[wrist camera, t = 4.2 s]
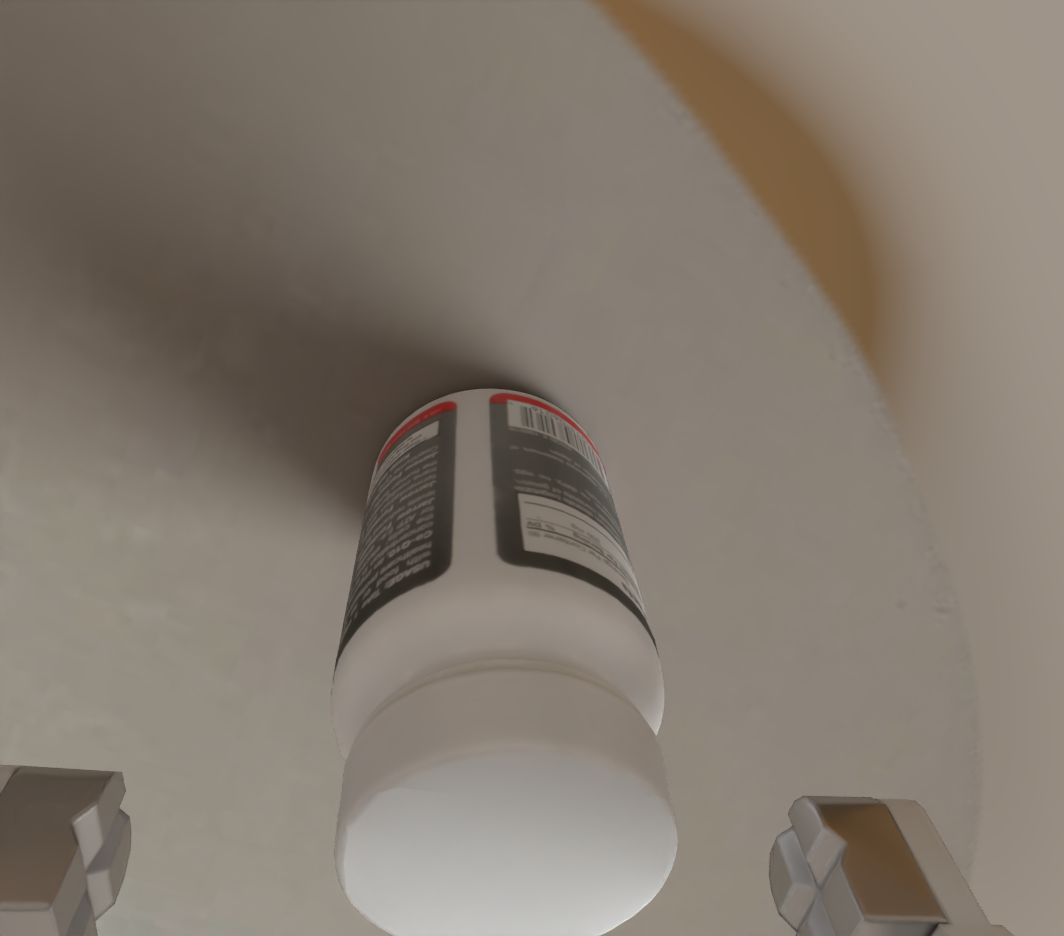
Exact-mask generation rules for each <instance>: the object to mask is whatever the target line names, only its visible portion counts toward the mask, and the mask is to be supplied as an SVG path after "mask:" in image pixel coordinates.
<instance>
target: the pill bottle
mask: <svg viewBox="0 0 1064 936" xmlns="http://www.w3.org/2000/svg"><path fill="white" fill-rule="evenodd" d="M331 696H332V699H331V715H332V723H333V730H334V733H335V737H336V740H337V743H338V746H339V749H340V751H341V754H342V756H343V758H344V760H345V762H346V764H345V769H344V774H343V784H342V792H341V800H340V807H339V814H338V822H337V830H336V838H335V848H334V860H335V868H336V872H337V876H338V880H339V883H340V885H341V887H342V889H343V891H344V893H345V894H346V896H347V897H348V899H349V900H350V902H351V903H352V905H353V906H354V907H355V908H356V909H357V910H358V912H360V913H361V914H362V915H363V916H364V917H366V918H367V919H368V920H370V921H371V922H372V923H374V924H375V925H376V926H378V927H379V928H381V929H383V930H384V931H386V932H388V933H390V934H391V935H393V936H600V935H602V934H604V933H606V932H608V931H610V930H612V929H614V928H615V927H616V926H618V925H620V924H622V923H623V922H624V921H626V920H628V919H630V918H631V917H633V916H634V915H635V914H636V913H637V912H639V911H640V910H641V909H642V908H643V907H644V906H646V905H647V904H648V903H649V902H650V901H651V900H652V899H653V898H654V897H655V896H656V895H657V893H658V892H659V890H660V889H661V887H662V886H663V884H664V883H665V881H666V879H667V878H668V876H669V874H670V872H671V869H672V866H673V864H674V860H675V856H676V853H677V828H676V821H675V816H674V812H673V807H672V803H671V799H670V794H669V789H668V784H667V779H666V773H665V764H664V757H663V753H662V749H661V747H660V744H659V742H658V739H657V737H656V735H657V732H658V730H659V727H660V724H661V721H662V715H663V708H664V683H663V676H662V670H661V665H660V661H659V656H658V652H657V648H656V644H655V639H654V637H653V635H652V632H651V629H650V625H649V622H648V618H647V615H646V611H645V608H644V604H643V601H642V598H641V594H640V591H639V588H638V584H637V581H636V577H635V574H634V570H633V566H632V563H631V560H630V557H629V554H628V551H627V547H626V544H625V540H624V537H623V533H622V530H621V526H620V523H619V519H618V516H617V513H616V509H615V506H614V502H613V499H612V495H611V491H610V488H609V484H608V481H607V477H606V472H605V469H604V466H603V464H602V462H601V459H600V457H599V454H598V452H597V450H596V448H595V446H594V444H593V442H592V441H591V439H590V438H589V436H588V435H587V434H586V432H585V431H584V430H583V429H582V428H581V427H580V425H579V424H578V423H577V422H576V421H575V420H574V419H573V418H571V417H570V416H569V415H568V414H567V413H565V412H564V411H563V410H561V409H560V408H558V407H557V406H555V405H553V404H551V403H549V402H547V401H545V400H543V399H541V398H539V397H536V396H533V395H530V394H527V393H522V392H518V391H512V390H503V389H474V390H466V391H461V392H457V393H453V394H450V395H447V396H444V397H441V398H439V399H436V400H434V401H432V402H430V403H428V404H426V405H425V406H423V407H421V408H420V409H418V410H417V411H415V412H414V413H413V414H411V415H410V416H409V417H408V418H406V419H405V420H404V421H403V422H402V423H401V424H400V425H399V426H398V427H397V428H396V429H395V430H394V432H393V433H392V434H391V435H390V437H389V438H388V440H387V441H386V443H385V445H384V446H383V448H382V450H381V452H380V455H379V457H378V459H377V462H376V465H375V468H374V472H373V475H372V479H371V484H370V488H369V493H368V497H367V504H366V509H365V514H364V519H363V523H362V530H361V535H360V540H359V545H358V550H357V555H356V560H355V565H354V570H353V576H352V581H351V587H350V592H349V597H348V602H347V607H346V612H345V618H344V623H343V628H342V634H341V639H340V644H339V649H338V654H337V658H336V665H335V671H334V677H333V687H332V692H331Z"/></svg>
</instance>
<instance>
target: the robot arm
mask: <svg viewBox="0 0 1064 936" xmlns="http://www.w3.org/2000/svg"><path fill="white" fill-rule="evenodd" d="M125 792H126V789H125V784H124V779H123V774H122V772H114V771H98V770H81V769H65V768H48V767H32V766H16V765H0V936H98V934H97V929H96V923H95V921H96V920H97V919H98V918H99V917H100V916H102V915H103V914H104V913H105V912H106V911H107V910H108V909H109V908H111V907H112V906H113V905H114V904H115V902H116V899H117V896H118V894H119V891H120V888H121V885H122V883H123V880H124V876H125V872H126V867H127V863H128V859H129V854H130V848H131V823H130V817H129V816H128V815H127V814H126V813H125V812H123V811H122V810H121V809H120V808H119V807H120V804H121V802H122V800H123V797H124V795H125ZM788 816H789V818H790V821H791V823H792V827H790V828H789V829H787V830H786V831H784V832H783V833H781V834H780V835H778V836H777V837H776V840H775V842H774V845H773V847H772V849H771V852H770V861H769V879H770V885H771V891H772V895H773V898H774V901H775V904H776V907H777V910H778V913H779V915H780V916H781V917H782V918H783V919H784V920H785V921H786V922H787V923H788V924H789V925H790V926H791V927H792V928H793V929H794V930H795V931H796V932H797V933H796V936H1014V935H1013V934H1012V933H1010V932H1009V931H1008V930H1007V929H1006V928H1005V927H1003V926H1002V925H991V924H990V923H989V921H988V919H987V917H986V916H985V914H984V912H983V910H982V909H981V907H980V905H979V903H978V902H977V900H976V898H975V896H974V895H973V893H972V891H971V889H970V888H969V886H968V884H967V882H966V881H965V879H964V877H963V876H962V874H961V872H960V870H959V869H958V867H957V865H956V863H955V862H954V860H953V858H952V856H951V855H950V853H949V851H948V849H947V848H946V846H945V844H944V842H943V841H942V839H941V837H940V835H939V834H938V832H937V830H936V829H935V827H934V825H933V823H932V822H931V820H930V818H929V816H928V815H927V813H926V811H925V810H924V808H923V807H922V806H920V805H919V804H918V803H917V802H916V801H915V800H907V799H873V798H871V797H832V796H802V797H800V798H799V799H797V800H795V801H794V803H793V805H792V807H791V809H790V811H789V813H788Z"/></svg>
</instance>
